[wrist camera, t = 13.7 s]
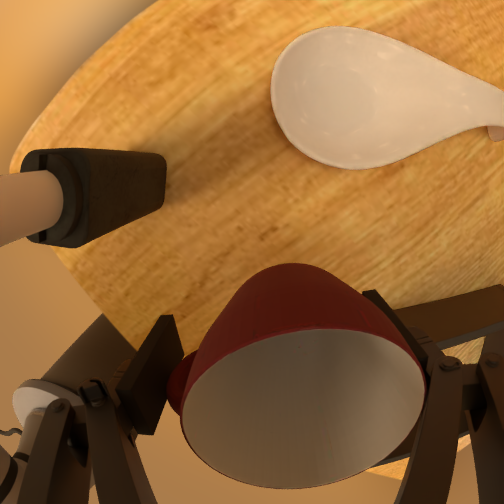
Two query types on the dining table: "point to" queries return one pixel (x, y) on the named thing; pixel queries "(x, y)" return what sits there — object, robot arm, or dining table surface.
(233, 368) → the mug
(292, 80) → the spoon rest
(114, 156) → the candle
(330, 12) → the dining table surface
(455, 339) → the dark rectangular frame
